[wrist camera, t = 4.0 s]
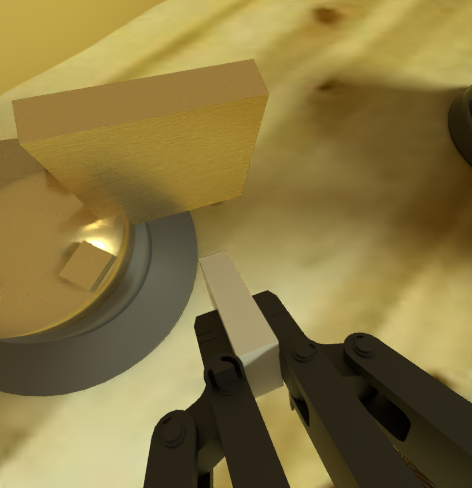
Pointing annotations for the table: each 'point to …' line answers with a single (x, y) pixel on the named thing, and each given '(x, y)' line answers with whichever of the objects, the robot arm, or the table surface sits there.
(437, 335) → the table surface
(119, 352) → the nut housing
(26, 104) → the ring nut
